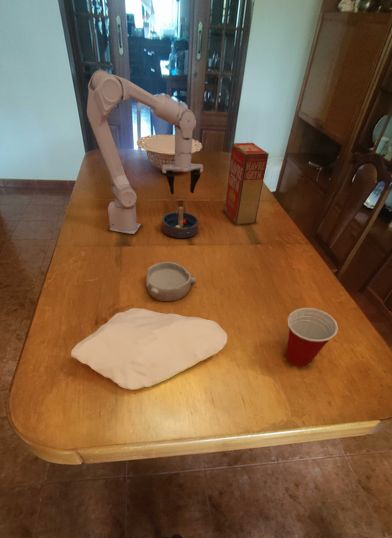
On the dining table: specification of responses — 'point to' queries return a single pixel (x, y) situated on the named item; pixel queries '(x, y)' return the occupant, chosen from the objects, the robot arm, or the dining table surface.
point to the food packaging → (245, 182)
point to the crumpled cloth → (148, 346)
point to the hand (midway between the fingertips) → (181, 192)
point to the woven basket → (163, 148)
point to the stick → (180, 216)
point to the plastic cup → (308, 334)
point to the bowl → (172, 220)
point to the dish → (168, 281)
